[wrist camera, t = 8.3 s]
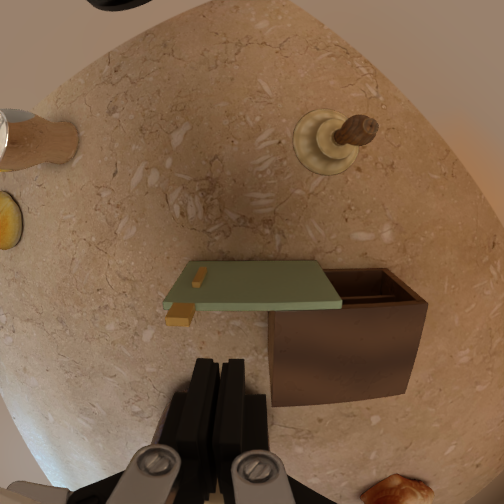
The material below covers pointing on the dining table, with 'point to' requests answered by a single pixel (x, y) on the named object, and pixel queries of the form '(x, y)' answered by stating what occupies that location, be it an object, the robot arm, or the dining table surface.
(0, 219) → the bread roll
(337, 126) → the hand bell
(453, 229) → the dining table surface
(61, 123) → the beer glass
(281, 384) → the cupboard
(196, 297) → the sliding door
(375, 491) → the ceramic vessel
